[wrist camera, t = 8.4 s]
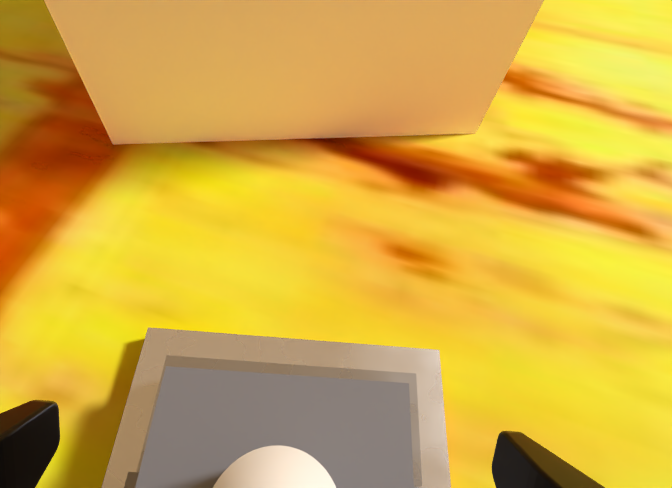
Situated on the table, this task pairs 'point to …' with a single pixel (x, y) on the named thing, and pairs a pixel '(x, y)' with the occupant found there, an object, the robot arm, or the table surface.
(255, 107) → the cube
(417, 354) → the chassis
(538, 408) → the table surface
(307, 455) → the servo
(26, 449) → the robot arm
